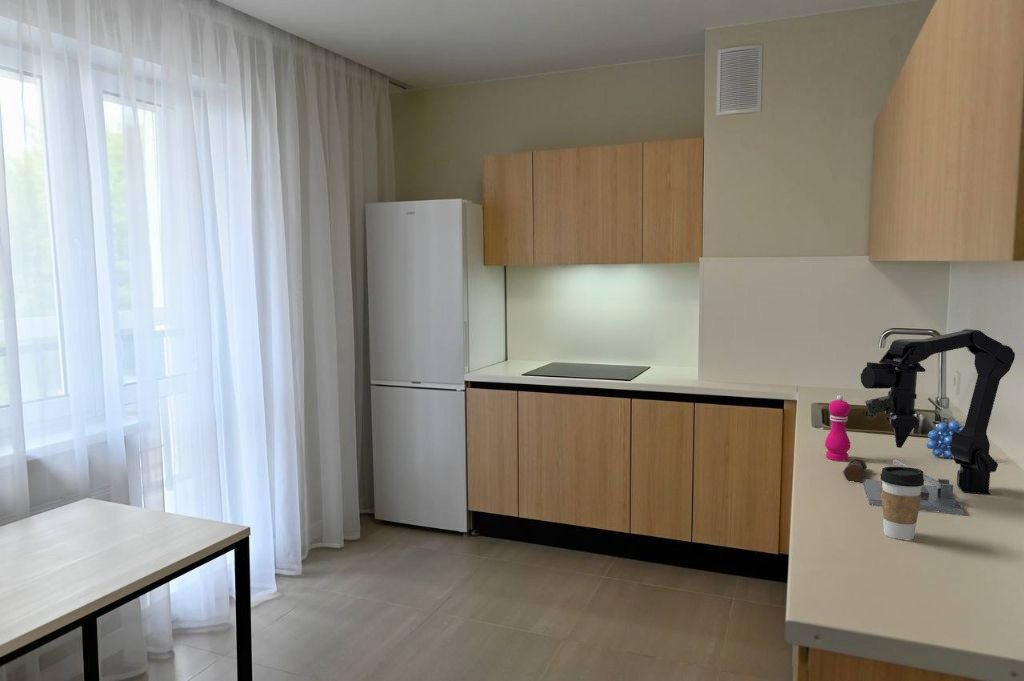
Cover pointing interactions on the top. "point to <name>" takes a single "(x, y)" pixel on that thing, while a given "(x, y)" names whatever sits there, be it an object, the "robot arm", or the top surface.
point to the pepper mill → (838, 431)
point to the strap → (926, 478)
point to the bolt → (855, 470)
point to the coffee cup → (901, 500)
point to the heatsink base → (930, 496)
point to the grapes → (943, 438)
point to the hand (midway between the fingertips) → (898, 447)
